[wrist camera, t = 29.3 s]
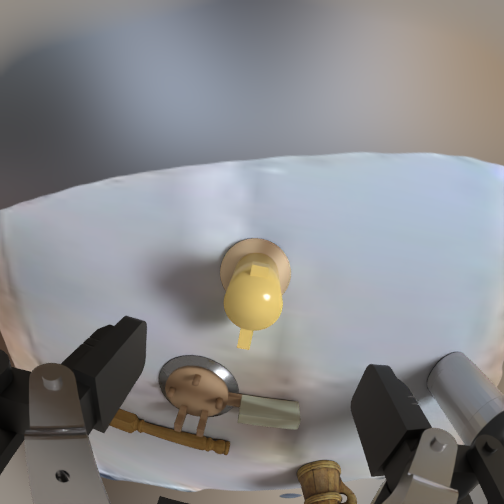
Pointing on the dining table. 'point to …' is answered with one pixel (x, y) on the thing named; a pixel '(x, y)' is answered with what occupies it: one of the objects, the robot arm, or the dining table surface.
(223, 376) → the stand base
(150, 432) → the tap handle
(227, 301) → the cylinder with side tabs
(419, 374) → the dining table surface
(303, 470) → the wooden mug
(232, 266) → the coaster
